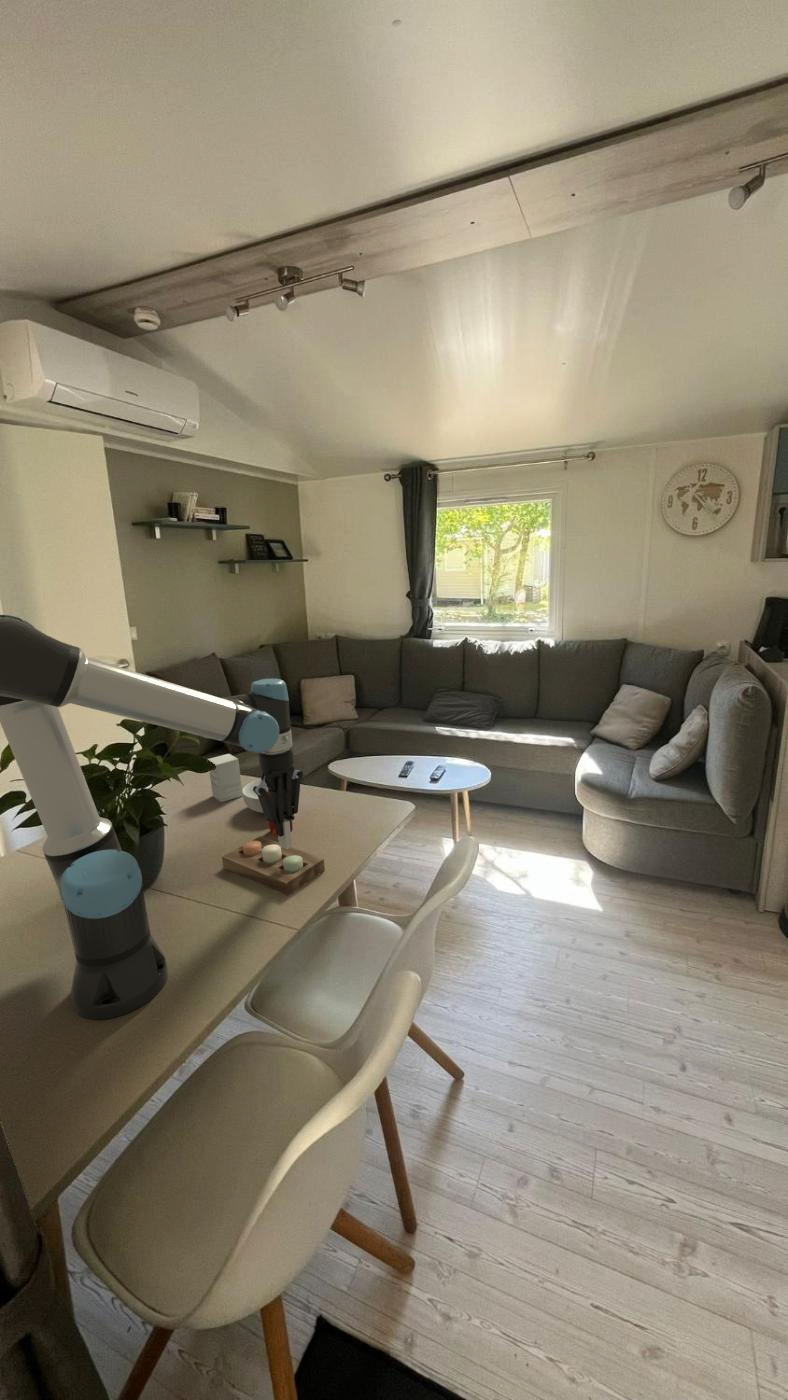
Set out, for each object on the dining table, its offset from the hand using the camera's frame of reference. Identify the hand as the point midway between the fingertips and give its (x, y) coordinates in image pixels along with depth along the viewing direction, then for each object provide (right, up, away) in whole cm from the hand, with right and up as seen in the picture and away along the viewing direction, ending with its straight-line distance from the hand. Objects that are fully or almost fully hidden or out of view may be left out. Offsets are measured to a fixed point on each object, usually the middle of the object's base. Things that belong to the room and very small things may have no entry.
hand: (285, 846), depth 129 cm
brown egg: (-9, -5, +8) cm, 14 cm away
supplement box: (-28, +3, +49) cm, 56 cm away
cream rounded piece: (-4, -5, +4) cm, 8 cm away
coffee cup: (-6, -2, +24) cm, 25 cm away
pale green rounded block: (+2, -7, 0) cm, 7 cm away
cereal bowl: (-11, +1, +38) cm, 40 cm away
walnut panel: (-4, -7, +5) cm, 9 cm away
